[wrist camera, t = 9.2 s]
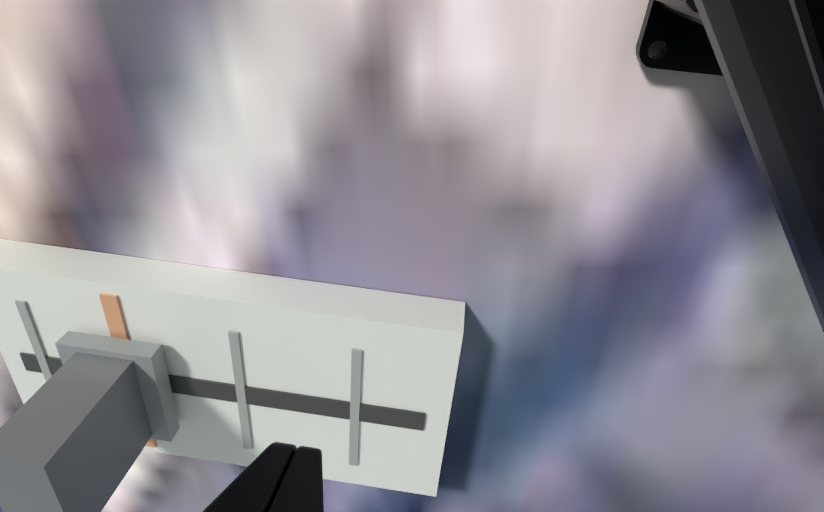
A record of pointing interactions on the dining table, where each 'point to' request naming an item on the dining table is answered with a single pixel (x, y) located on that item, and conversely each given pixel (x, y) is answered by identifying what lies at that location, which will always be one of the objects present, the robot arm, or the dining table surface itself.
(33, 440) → the fader slider
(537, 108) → the dining table surface
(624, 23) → the dining table surface
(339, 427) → the fader console
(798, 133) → the robot arm
